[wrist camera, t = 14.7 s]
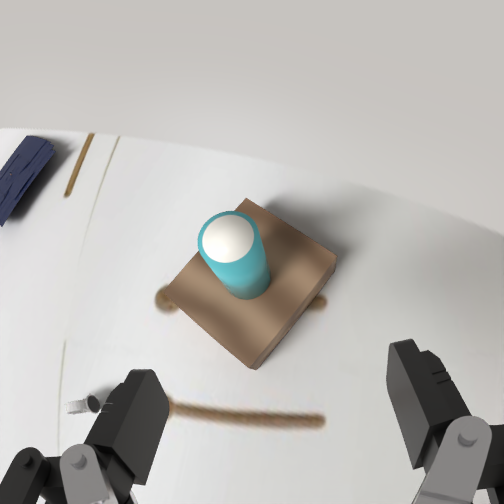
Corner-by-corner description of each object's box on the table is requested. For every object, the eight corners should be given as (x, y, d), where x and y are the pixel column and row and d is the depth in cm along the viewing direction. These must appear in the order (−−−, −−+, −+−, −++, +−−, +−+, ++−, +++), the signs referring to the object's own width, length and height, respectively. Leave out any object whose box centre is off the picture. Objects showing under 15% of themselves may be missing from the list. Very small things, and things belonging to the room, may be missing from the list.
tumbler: (245, 246, 38) (227, 200, 29) (280, 273, 36) (272, 232, 27) (214, 279, 37) (185, 242, 28) (248, 309, 35) (228, 280, 26)
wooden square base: (252, 216, 46) (246, 197, 41) (334, 270, 40) (337, 256, 36) (178, 302, 42) (162, 292, 38) (256, 370, 37) (248, 368, 33)
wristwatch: (107, 412, 38) (86, 413, 33) (83, 417, 38) (61, 418, 33) (102, 394, 39) (81, 392, 34) (78, 399, 39) (57, 398, 34)
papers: (6, 240, 54) (-6, 232, 51) (-15, 205, 67) (-23, 199, 64) (68, 152, 60) (58, 142, 57) (32, 140, 74) (25, 132, 71)
